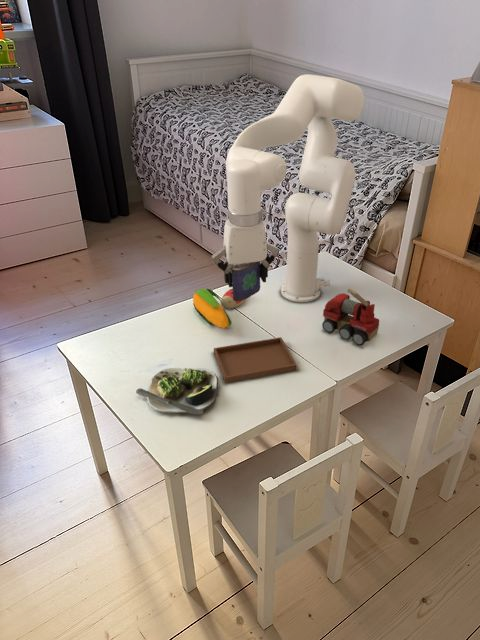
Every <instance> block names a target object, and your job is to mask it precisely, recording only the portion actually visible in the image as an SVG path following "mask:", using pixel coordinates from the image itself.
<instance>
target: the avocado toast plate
mask: <svg viewBox="0 0 480 640" xmlns="http://www.w3.org/2000/svg"><path fill="white" fill-rule="evenodd" d="M218 385H219V382H218V375H216V373H215V372H214V371H212V370H210V369H209V368H204V367H175V368H174V367H170V368H165V369H162V370H159V371H158V372H156V373H155V374H154V375H153V376H152V378H151V382H150V384H149V388H148V390H146V389H144V388H137V389H136V390H135V393H136V394H137V395H139V396H141V397H144V398H145V399H146V401H147V404H148V405H149V406H150V407H151V408H152V409H154V410H155V411H157V412H162V413H178V414H179V413H181V414H191V415H192V414H193V415H197V416H198V415H202V414H204V411H207V410H208V409H209V408H211V407H212V405H213V404H214V403H215V401H216V399H217V393H218V392H217V391H218Z"/></svg>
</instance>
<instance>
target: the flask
mask: <svg viewBox="0 0 480 640" xmlns="http://www.w3.org/2000/svg"><path fill="white" fill-rule="evenodd" d="M260 264H261V261H258V262H252V263H244V264H236V265H234V266H233V267H232V269H231V270H230V271H231V273H232V287H231V289H233V300H234V301H236V302H238V301H243V300H245V301H246V300H247V299H250V298H251V297H253V296H254V295H256V294H257V293H258V292H259V291H260V290H261V278H260Z"/></svg>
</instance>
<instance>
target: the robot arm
mask: <svg viewBox="0 0 480 640" xmlns="http://www.w3.org/2000/svg"><path fill="white" fill-rule="evenodd" d="M364 105H365V95H364V92H363V89H362V88H361V86H359V85H357V84H355V83H351V82H349V81H346V80H345V79H341V78H337V77H332V76H331V77H330V76H324V75H318V74H317V75H316V74H311V73H310V74H309V73H308V74H307V73H306V74H301V75H300V76H298V77H297V78H296V79H295V80H294V81H293V82H292V83H291V84H290V87H289V88H288V90H287V91H286V93H285V95H284V96H283V98H282V100H281V101H280V103H279V104H278V105H277V107H276V109H275V110H274V112H273V113H272V114H269V115H267V116H265V117H263V118H261V119H259V120H257V121H256V122H254V123H252V124H250V125H249V126H247V127H245V128H244V129H243V130H242V131H241V132H240V133H239V135H238V136H237V137H236V139H235V140H234V142H233V144H232V145H231V147H230V149H229V151H228V153H227V156H226V160H225V171H226V186H227V189H226V190H227V210H228V211H227V212H228V219H226V221H225V222H224V227H223V245H222V248H220V249H219V250H218V251H216V252H214V253H213V254H212V255H211V260H212V261H213V262H214V264H215V265H216V266H217V267H218V268H219V269H220V270H221V271H223V275H224V284H227V286H228V287H229V288H232V271H231V270H232V267H233V266H235V265H236V264H237V265H239V264H244V263H252V262H258V261H260V281H262V283H267V278H268V277H269V268H270V266H271V264H272V263H273V262H274V261H275V259H276V257H277V255H278V254H279V252H280V250H279V248H278V247H277V246H275V245H273V244H271V243H269V242H268V241H267V233H266V227H265V223H264V220H263V217H264V216H267V215H268V213H267V211H268V210H267V209H264V208H262V196H261V195H262V192H264V191H267V190H271V189H274V188H277V187H278V186H279V185H281V184H282V182H283V181H284V180H285V178H286V175H287V170H288V169H287V163H286V161H285V159H284V158H283V157H282V156H281V155H279V154H277V153H273V152H266V151H263V150H264V149H267V148H271V147H277V146H282V145H287V144H291V143H295V142H297V141H298V140H300V139H301V138H302V137H303V135H304V134H305V132H306V130H307V138H306V141H305V146H304V149H303V150H304V151H303V154H302V159H301V163H300V166H299V167H300V168H299V172H298V182H299V183H300V185H301V186H302V187H304V188H306V189H309V190H313V191H317V192H320V193H326V194H330V195H331V198H328V197H324V196H321V195H315V194H311V193H306V192H296V193H295V192H294V193H293V194H291V195H290V196H289V197H288V198H287V200H286V202H285V206H284V214H285V215H284V216H285V221H286V228H287V230H286V231H287V246H286V247H287V248H286V276H285V282H284V283H283V284H282V285H281V286H280V294H281V296H283V298H285V299H286V300H288V301H291V302H296V303H308V302H309V303H310V302H312V301H316V300H317V299H318V298H319V297H320V295H321V289H322V288H323V287H330V286H331V283H332V282H331V280H330V279H324V277H323V276H322V277H317V275H318V264H319V249H320V240H319V239H320V238H319V235H318V233H321V234H325V235H329V236H335V235H337V234H339V233H340V232H341V231H342V229H343V226H344V224H345V221H346V218H347V217H346V216H347V213H348V208H349V205H350V202H351V197H352V194H353V191H354V186H355V181H356V169H355V165H354V164H353V162H351V161H350V160H349V159H345V158H340V157H335V153H336V149H337V146H338V140H339V139H338V138H339V137H338V132H337V130H336V127H335V125H334V123H333V120H338V121H344V122H349V123H351V122H354V121H356V120H358V118H359V117H360V116H361V114H362V112H363V109H364ZM268 251H270V253H268ZM222 257H224V258H226V259H225V261H224V262H223V261H222V260H220V259H222Z"/></svg>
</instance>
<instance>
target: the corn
mask: <svg viewBox="0 0 480 640" xmlns="http://www.w3.org/2000/svg"><path fill="white" fill-rule="evenodd" d="M194 292H195V293H194V294H193V297H192V302H193V307H194V310H196V312H197V314H198V315H199V316H200V317H201V318H202V319H203V320H204V321H205V322H206V323H207V324H209V325H210V326H213V325H214V326H215V327H219V328H222V329H224V330H226V329H228V328H229V327H231V326H232V324H233V323H232V320H231V318H230V316H229V314H228V313H227V312H226V310H225V309H224V307H223V306H222V304H223V303H222V301H221V300H222V298H221V297H220V296H219V295H218V294H217V293H216V292H214V291H213V290H212V289H209V288H201V289H197V290H195V291H194ZM219 301H220V302H219ZM221 303H222V304H221Z"/></svg>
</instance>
